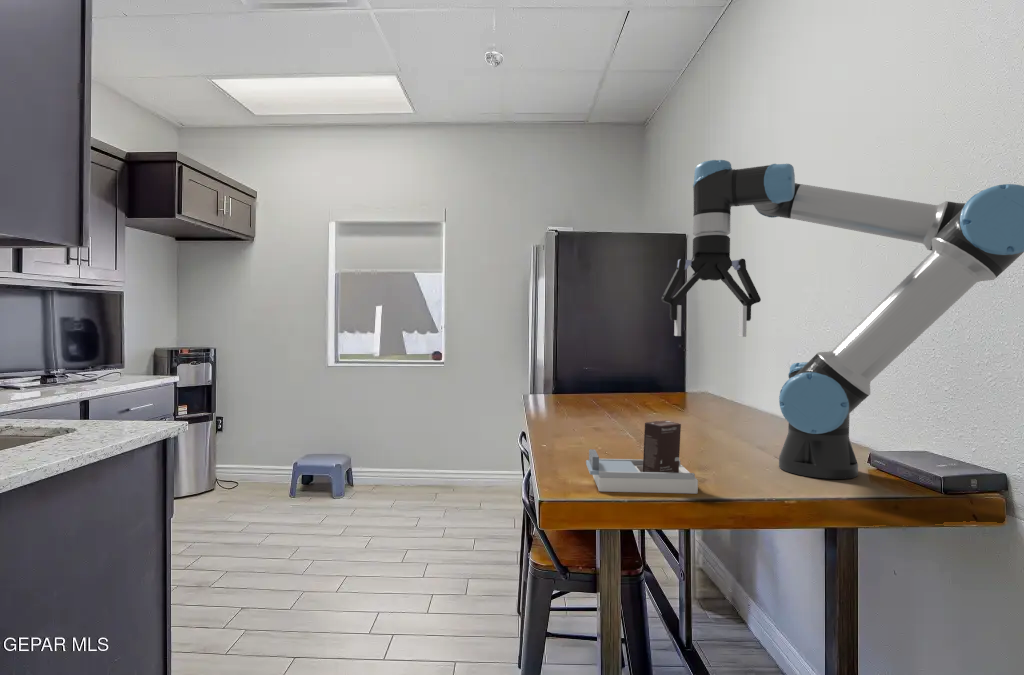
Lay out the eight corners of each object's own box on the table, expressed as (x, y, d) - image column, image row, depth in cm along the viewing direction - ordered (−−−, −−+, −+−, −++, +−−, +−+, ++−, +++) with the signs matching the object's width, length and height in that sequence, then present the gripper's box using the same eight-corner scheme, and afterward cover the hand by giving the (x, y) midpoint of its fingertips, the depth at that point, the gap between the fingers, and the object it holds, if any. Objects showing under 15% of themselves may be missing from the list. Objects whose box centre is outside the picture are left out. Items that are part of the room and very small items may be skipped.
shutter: (630, 464, 119) (630, 449, 119) (638, 475, 110) (638, 459, 110) (586, 463, 119) (586, 448, 119) (590, 474, 110) (590, 458, 110)
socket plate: (681, 477, 120) (681, 459, 120) (697, 493, 108) (697, 474, 108) (592, 475, 121) (592, 458, 121) (599, 491, 109) (599, 472, 109)
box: (659, 489, 111) (660, 425, 111) (641, 483, 115) (642, 422, 114) (680, 484, 114) (681, 422, 114) (663, 479, 118) (664, 419, 118)
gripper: (764, 239, 128) (762, 336, 129) (648, 238, 129) (647, 335, 129) (778, 233, 121) (776, 337, 121) (655, 233, 122) (654, 335, 122)
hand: (709, 336), depth 125 cm, fingers open, 13 cm apart
